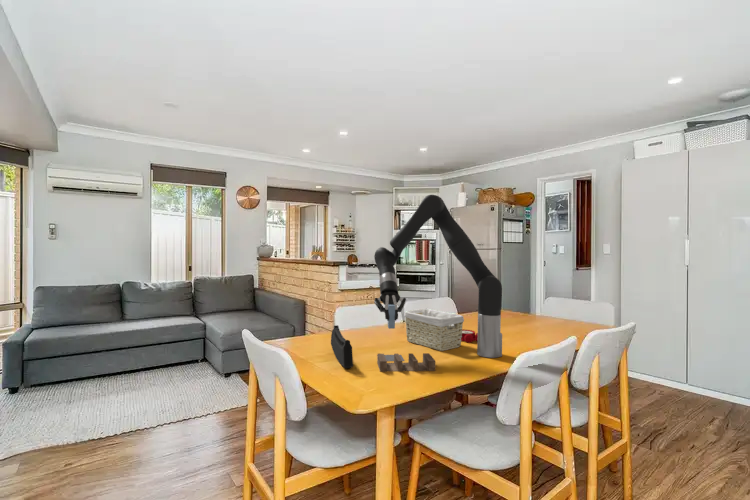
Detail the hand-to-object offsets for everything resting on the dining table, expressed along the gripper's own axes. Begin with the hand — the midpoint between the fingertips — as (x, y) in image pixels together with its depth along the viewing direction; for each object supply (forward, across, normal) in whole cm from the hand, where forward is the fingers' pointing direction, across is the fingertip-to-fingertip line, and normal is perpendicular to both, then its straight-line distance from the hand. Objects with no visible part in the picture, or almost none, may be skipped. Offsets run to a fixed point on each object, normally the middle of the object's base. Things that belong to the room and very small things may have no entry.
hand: (392, 319), depth 155 cm
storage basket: (-6, +23, +29) cm, 37 cm away
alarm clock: (-11, +42, +35) cm, 56 cm away
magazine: (+10, -20, +13) cm, 26 cm away
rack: (+18, +4, +4) cm, 19 cm away
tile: (+1, 0, +4) cm, 4 cm away
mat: (+10, 0, +13) cm, 16 cm away
